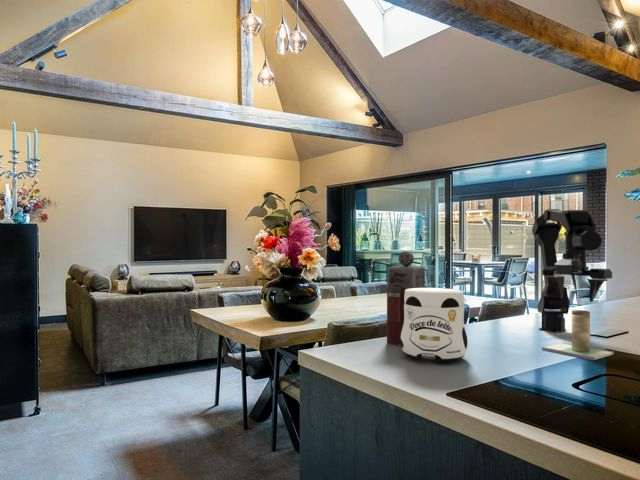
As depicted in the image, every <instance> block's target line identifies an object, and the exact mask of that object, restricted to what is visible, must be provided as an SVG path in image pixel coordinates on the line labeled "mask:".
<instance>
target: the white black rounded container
mask: <svg viewBox="0 0 640 480" xmlns="http://www.w3.org/2000/svg"><path fill="white" fill-rule="evenodd" d="M404 303H405V304H404V325H403V328H402V332H401V345H400V346H401V350H402V352H403V353H404V354H405V355H406V356H408V357H410V358H413V359H416V360H419V361H425V362H434V363H445V362H447V363H448V362H453V361H457V360H460V359H463V358H464V357H465V356H466V353H467V348H468V335H467V332H466V328H465V320H464V319H465V306H464V305H465V298H464V291H463V290H459V289H453V288H443V287H425V288H411V289H406V290H405V295H404Z"/></svg>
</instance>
